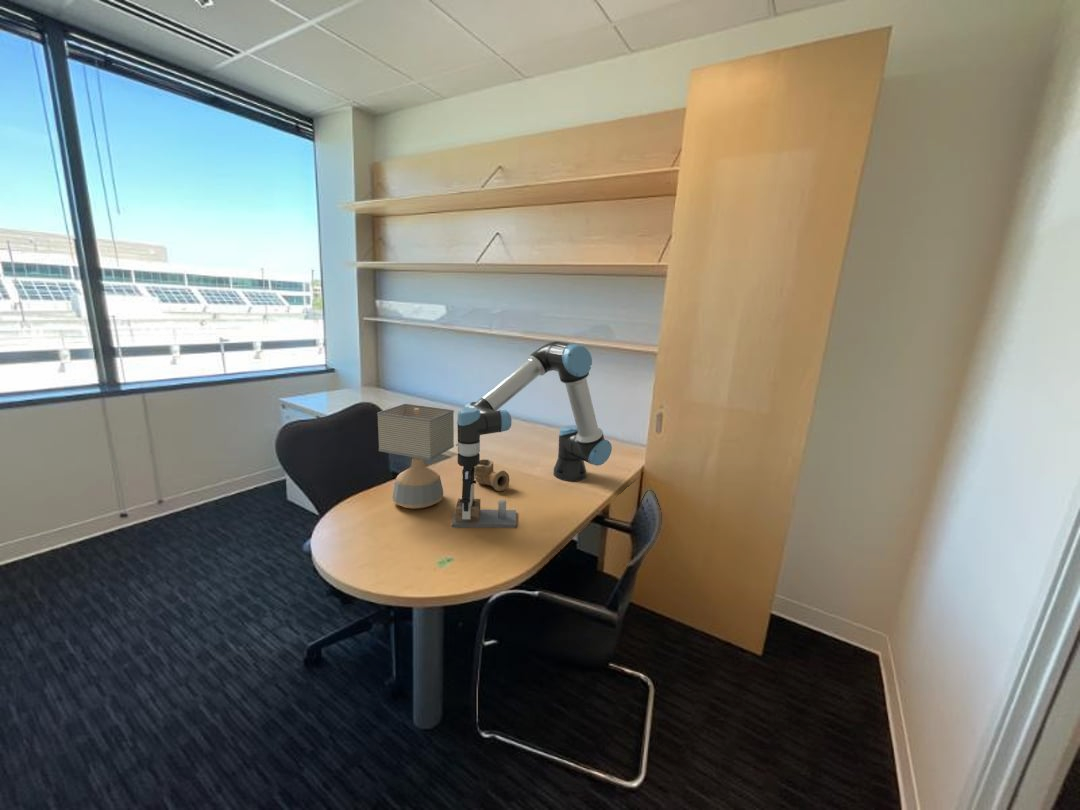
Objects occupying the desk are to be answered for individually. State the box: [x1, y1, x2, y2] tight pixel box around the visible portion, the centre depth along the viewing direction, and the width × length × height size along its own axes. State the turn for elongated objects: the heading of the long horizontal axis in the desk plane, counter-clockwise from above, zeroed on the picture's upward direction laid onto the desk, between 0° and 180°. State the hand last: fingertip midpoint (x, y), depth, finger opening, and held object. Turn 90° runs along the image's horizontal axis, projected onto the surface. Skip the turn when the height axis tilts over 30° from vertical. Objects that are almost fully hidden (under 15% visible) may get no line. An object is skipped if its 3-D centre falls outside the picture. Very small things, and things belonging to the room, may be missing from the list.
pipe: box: [474, 458, 510, 492], centre depth 181 cm, size 9×16×10 cm, turn 53°
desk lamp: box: [376, 403, 455, 510], centre depth 162 cm, size 22×19×37 cm
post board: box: [451, 489, 517, 528], centre depth 153 cm, size 22×11×11 cm, turn 93°
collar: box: [454, 498, 481, 522], centre depth 153 cm, size 8×8×5 cm
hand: (468, 509), depth 153 cm, fingers open, 13 cm apart
